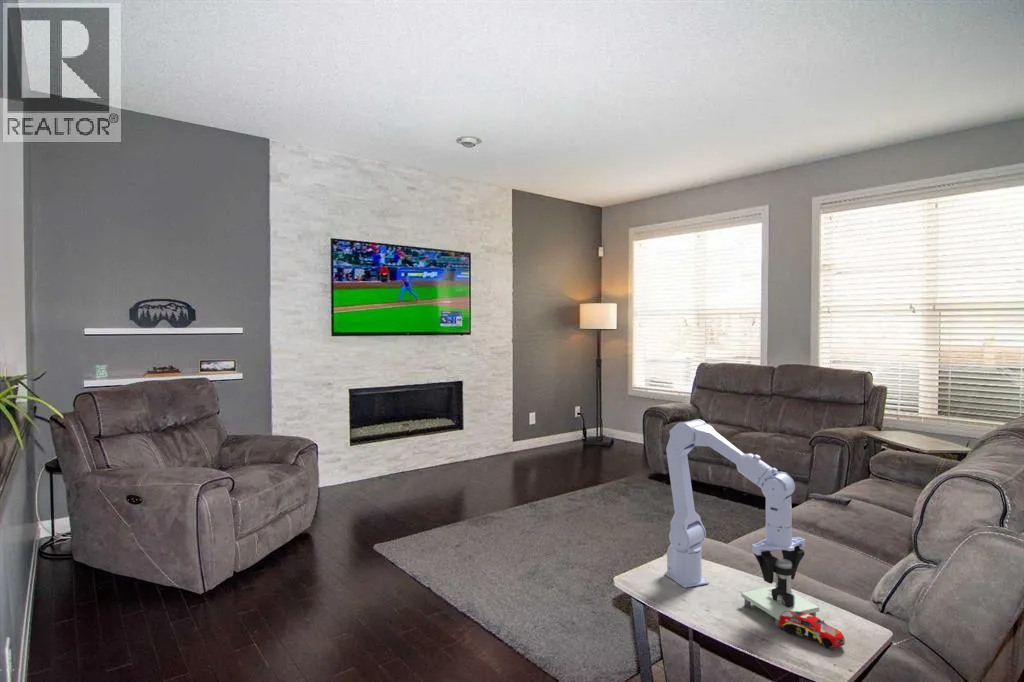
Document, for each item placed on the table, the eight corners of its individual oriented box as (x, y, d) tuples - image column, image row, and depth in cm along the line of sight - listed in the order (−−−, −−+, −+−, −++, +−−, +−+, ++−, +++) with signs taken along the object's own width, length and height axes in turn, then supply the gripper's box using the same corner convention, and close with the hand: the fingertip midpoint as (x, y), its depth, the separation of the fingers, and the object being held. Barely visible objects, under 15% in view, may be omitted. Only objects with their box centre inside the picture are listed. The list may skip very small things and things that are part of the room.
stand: (741, 604, 135) (741, 592, 135) (779, 596, 139) (779, 585, 139) (779, 629, 124) (779, 616, 124) (819, 619, 128) (819, 607, 128)
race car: (849, 644, 117) (848, 625, 117) (838, 653, 114) (838, 634, 114) (787, 620, 127) (787, 603, 127) (776, 627, 124) (775, 610, 124)
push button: (761, 598, 132) (761, 557, 132) (775, 593, 135) (775, 553, 135) (786, 610, 127) (786, 567, 127) (800, 604, 129) (800, 563, 129)
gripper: (767, 533, 125) (767, 591, 125) (815, 525, 130) (815, 582, 130) (745, 523, 132) (745, 578, 132) (791, 516, 137) (792, 570, 137)
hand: (779, 579), depth 132 cm, fingers open, 6 cm apart
